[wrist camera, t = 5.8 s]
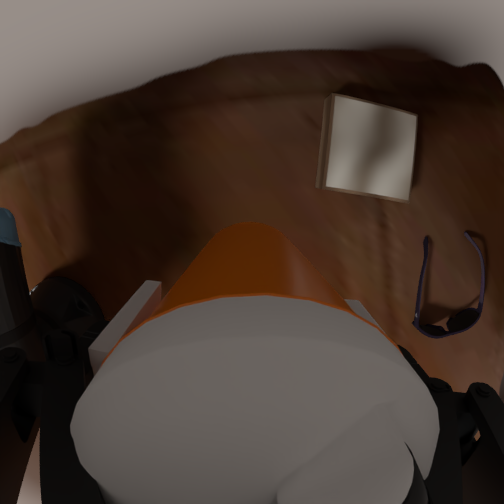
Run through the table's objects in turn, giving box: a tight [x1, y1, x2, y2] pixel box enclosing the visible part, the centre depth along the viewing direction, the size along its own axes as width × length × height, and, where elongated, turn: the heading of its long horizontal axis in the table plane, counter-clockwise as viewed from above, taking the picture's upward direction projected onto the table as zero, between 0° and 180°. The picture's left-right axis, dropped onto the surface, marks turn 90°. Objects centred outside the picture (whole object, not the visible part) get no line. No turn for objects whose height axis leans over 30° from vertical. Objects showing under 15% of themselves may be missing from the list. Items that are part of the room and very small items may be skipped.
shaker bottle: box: [70, 222, 440, 504], centre depth 13 cm, size 9×9×20 cm
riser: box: [315, 93, 418, 204], centre depth 37 cm, size 12×12×4 cm
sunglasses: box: [412, 232, 485, 338], centre depth 42 cm, size 14×16×5 cm
